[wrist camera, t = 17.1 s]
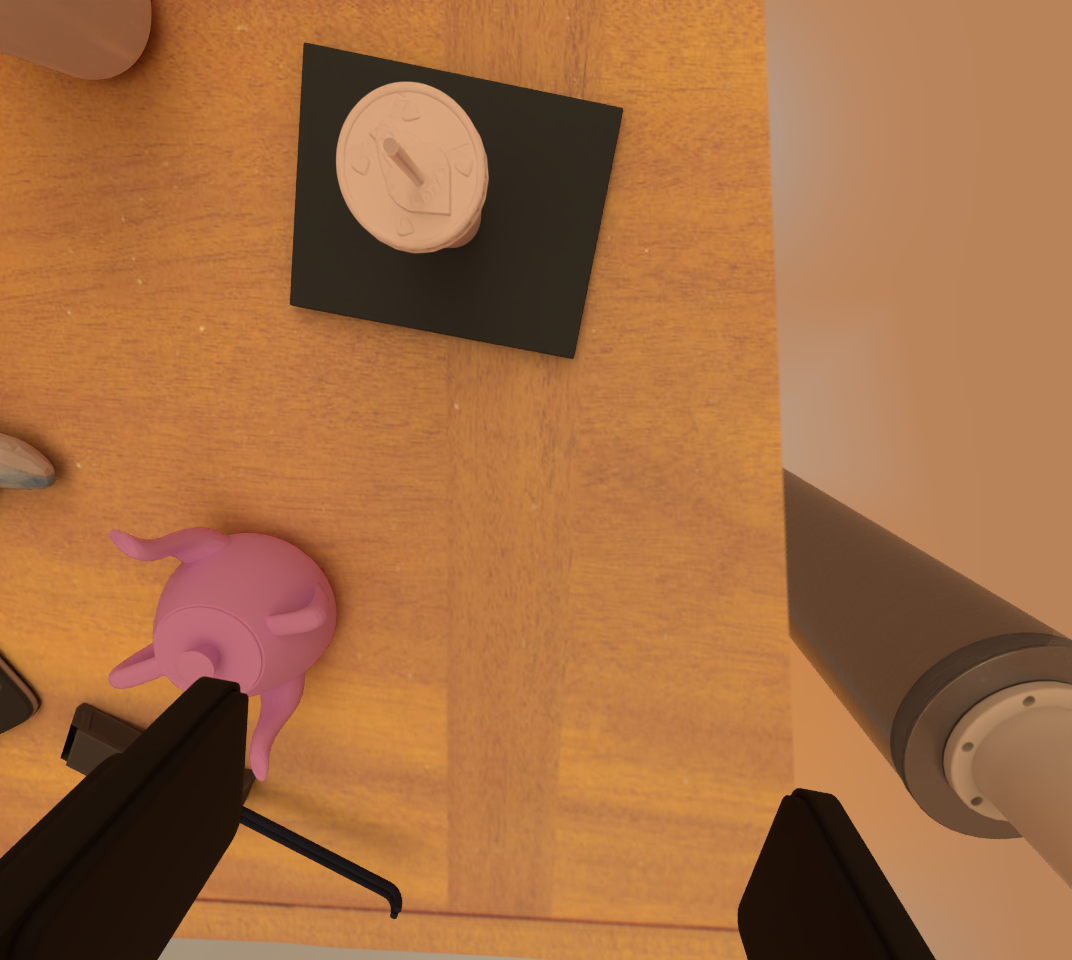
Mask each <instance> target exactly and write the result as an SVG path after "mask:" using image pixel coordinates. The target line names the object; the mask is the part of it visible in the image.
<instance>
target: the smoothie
mask: <svg viewBox="0 0 1072 960" xmlns="http://www.w3.org/2000/svg"><path fill="white" fill-rule="evenodd" d="M336 169H337V177H338V182H339V186H340V189H341V192H342V195H343V197H344V200H345V202H346V204H347V206H348V208H349V209H350V211H351V212H352V214H353V215H354V217H355V218H356V219H357V221H358V222H359V223H360V224H361V225H362V226H363V227H364V228H365V229H366V230H367V231H368V232H369V233H371V234H372V235H373V236H375V237H376V238H377V239H378V240H379V241H381V242H383V243H385V244H387V245H389V246H391V247H393V248H394V249H396V250H401V251H406V252H411V253H427V252H435V251H437V250H440V249H443V248H457V247H460V246H463V245H465V244H467V243H468V242H469V241H471V240H472V239H473V237H474V236H475V235H476V233H477V231H478V229H479V226H480V222H481V209H482V207H483V205H484V202H485V200H486V193H487V187H488V180H489V176H488V163H487V156H486V153H485V149H484V146H483V143H482V140H481V137H480V135H479V133H478V132H477V130H476V129H475V127H474V125H473V123H472V121H471V120H470V118H469V117H468V115H467V114H466V113H465V111H464V110H463V109H462V108H461V107H460V106H459V105H458V104H457V103H456V102H455V101H454V100H453V99H452V98H450V97H449V96H448V95H446V94H445V93H443V92H442V91H440V90H438V89H436V88H434V87H431V86H428V85H426V84H421V83H417V82H395V83H391V84H387V85H384V86H381V87H379V88H377V89H375V90H373V91H372V92H370V93H369V94H367V95H366V96H365V97H363V98H362V99H361V100H360V101H359V102H358V103H357V104H356V105H355V107H354V108H353V109H352V110H351V112H350V114H349V115H348V117H347V118H346V120H345V122H344V124H343V127H342V130H341V132H340V136H339V139H338V144H337V152H336Z"/></svg>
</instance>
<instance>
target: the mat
mask: <svg viewBox="0 0 1072 960" xmlns="http://www.w3.org/2000/svg"><path fill="white" fill-rule="evenodd" d="M395 82H417V83H421V84H426V85H428V86H431V87H434V88H436V89H438V90H440V91H442V92H443V93H445V94H446V95H448V96H449V97H450V98H452V99H453V100H454V101H455V102H456V103H457V104H458V105H459V106H460V107H461V108H462V109H463V110H464V111H465V113H466V114H467V115H468V117H469V118H470V120H471V121H472V123H473V125H474V127H475V129H476V130H477V132H478V133H479V135H480V137H481V140H482V143H483V146H484V149H485V153H486V156H487V163H488V176H489V180H488V187H487V193H486V200H485V202H484V205H483V207H482V209H481V222H480V226H479V229H478V231H477V233H476V235H475V236H474V237H473V239H472V240H471V241H469V242H468V243H467V244H465V245H463V246H460V247H457V248H443V249H440V250H437V251H435V252H427V253H411V252H406V251H401V250H396V249H394V248H393V247H391V246H389V245H387V244H385V243H383V242H381V241H379V240H378V239H377V238H376V237H375V236H373V235H372V234H371V233H369V232H368V231H367V230H366V229H365V228H364V227H363V226H362V225H361V224H360V223H359V222H358V221H357V219H356V218H355V217H354V215H353V214H352V212H351V211H350V209H349V208H348V206H347V204H346V202H345V200H344V197H343V195H342V192H341V189H340V186H339V182H338V177H337V169H336V152H337V144H338V139H339V136H340V132H341V130H342V127H343V124H344V122H345V120H346V118H347V117H348V115H349V114H350V112H351V110H352V109H353V108H354V107H355V105H356V104H357V103H358V102H359V101H360V100H361V99H362V98H363V97H365V96H366V95H367V94H369V93H370V92H372V91H373V90H375V89H377V88H379V87H381V86H384V85H387V84H391V83H395ZM622 113H623V108H620V107H615V106H610V105H606V104H601V103H596V102H591V101H586V100H581V99H576V98H572V97H567V96H562V95H557V94H552V93H547V92H542V91H538V90H533V89H528V88H523V87H518V86H513V85H508V84H504V83H499V82H494V81H489V80H484V79H479V78H474V77H470V76H465V75H460V74H455V73H450V72H445V71H440V70H436V69H431V68H426V67H421V66H416V65H411V64H406V63H402V62H397V61H392V60H387V59H382V58H377V57H372V56H368V55H363V54H358V53H353V52H348V51H343V50H338V49H334V48H329V47H324V46H319V45H314V44H309V43H304V48H303V67H302V86H301V105H300V123H299V142H298V161H297V180H296V199H295V218H294V237H293V256H292V275H291V293H290V305H292V306H297V307H302V308H307V309H313V310H318V311H323V312H329V313H334V314H339V315H344V316H350V317H355V318H360V319H365V320H371V321H376V322H381V323H387V324H392V325H397V326H402V327H408V328H413V329H418V330H423V331H429V332H434V333H439V334H445V335H450V336H455V337H460V338H466V339H471V340H476V341H481V342H487V343H492V344H497V345H503V346H508V347H513V348H518V349H524V350H529V351H534V352H539V353H545V354H550V355H555V356H561V357H566V358H571V359H573V358H574V355H575V350H576V344H577V339H578V334H579V329H580V324H581V319H582V314H583V309H584V304H585V299H586V294H587V289H588V284H589V279H590V274H591V269H592V264H593V259H594V254H595V249H596V244H597V239H598V234H599V229H600V224H601V219H602V214H603V209H604V204H605V199H606V194H607V188H608V183H609V178H610V173H611V168H612V163H613V158H614V153H615V148H616V143H617V138H618V133H619V128H620V123H621V118H622Z"/></svg>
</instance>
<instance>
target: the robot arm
mask: <svg viewBox="0 0 1072 960" xmlns="http://www.w3.org/2000/svg"><path fill="white" fill-rule="evenodd" d="M247 717H248V695H247V694H245V693H241V690H240V685H239V683H237V682H233V681H228V680H222V679H217V678H212V677H207V676H203V677H200V678H199V679H198V680H196V681H195V682H194V683H193V684H192V685H191V686H190V687H189V688H188V689H187V690H186V691H185V692H184V693H183V694H182V695H181V696H180V697H179V698H178V699H177V700H176V701H175V702H174V703H173V704H172V705H171V706H170V707H168V708H167V709H166V710H165V711H164V712H163V713H162V714H161V715H160V716H159V717H158V718H157V719H156V720H155V721H154V722H153V723H152V724H151V725H150V726H149V727H148V728H147V729H146V730H145V731H144V732H143V733H142V734H141V735H140V736H139V737H138V738H137V739H136V740H135V741H134V742H133V743H132V744H131V745H130V746H129V747H128V748H127V749H126V750H125V751H124V752H123V753H116V754H114V755H111V756H109V757H108V758H106V759H105V760H104V761H103V762H101V763H100V764H99V765H98V766H97V767H96V768H95V769H93V770H92V771H91V772H90V773H89V774H88V775H87V776H86V777H85V778H84V779H83V780H82V781H81V782H80V783H79V784H78V785H77V786H76V787H75V788H74V789H73V790H72V791H71V792H69V793H68V794H67V795H66V796H65V797H64V798H63V799H62V800H61V801H60V802H59V803H58V804H57V805H56V806H55V807H54V808H53V809H52V810H51V811H50V812H49V813H48V814H46V815H45V816H44V817H43V818H42V819H41V820H40V821H39V822H38V823H37V824H36V825H35V826H34V827H33V828H32V829H31V830H30V831H29V832H28V833H27V834H26V835H25V836H23V837H22V838H21V839H20V840H19V841H18V842H17V843H16V844H15V845H14V846H13V847H12V848H11V849H10V850H9V851H8V852H7V853H6V854H5V855H4V856H3V857H2V858H0V960H157V959H158V958H159V956H160V955H161V953H162V951H163V950H164V948H165V947H166V945H167V944H168V942H169V940H170V939H171V937H172V936H173V934H174V933H175V931H176V929H177V928H178V926H179V925H180V923H181V921H182V920H183V918H184V917H185V915H186V913H187V912H188V910H189V909H190V907H191V905H192V904H193V902H194V901H195V899H196V897H197V896H198V894H199V893H200V891H201V889H202V888H203V886H204V885H205V883H206V882H207V880H208V878H209V877H210V875H211V874H212V872H213V870H214V869H215V867H216V866H217V864H218V862H219V861H220V859H221V858H222V856H223V854H224V853H225V851H226V850H227V848H228V846H229V845H230V843H231V842H232V840H233V838H234V836H235V834H236V832H237V829H238V826H239V823H240V820H241V814H242V798H243V782H244V766H245V750H246V733H247ZM943 766H944V771H945V776H946V778H947V781H948V783H949V785H950V787H951V788H952V789H953V790H954V792H955V793H956V794H957V795H958V796H959V798H960V799H961V800H962V801H963V802H964V803H965V804H966V805H967V806H968V807H969V808H971V809H973V810H974V811H976V812H978V813H979V814H981V815H984V816H987V817H990V818H992V819H997V820H1003V821H1009V822H1010V823H1011V824H1012V825H1013V827H1014V828H1015V829H1016V830H1017V831H1018V832H1019V833H1020V834H1021V835H1022V836H1023V837H1024V838H1025V839H1026V840H1027V842H1029V844H1030V845H1031V846H1032V847H1033V848H1034V849H1035V850H1036V851H1037V852H1038V853H1039V854H1040V855H1041V856H1042V858H1043V859H1044V860H1045V861H1046V862H1047V863H1048V864H1049V865H1050V866H1051V867H1052V868H1053V869H1054V870H1055V872H1056V873H1057V874H1058V875H1059V876H1060V877H1061V878H1062V879H1063V880H1064V881H1065V882H1066V883H1067V884H1068V885H1069V887H1070V888H1071V889H1072V685H1071V684H1066V683H1061V682H1055V681H1037V682H1031V683H1024V684H1019V685H1016V686H1013V687H1009V688H1006V689H1003V690H1001V691H999V692H997V693H995V694H993V695H991V696H989V697H987V698H986V699H984V700H983V701H981V702H980V703H978V704H976V705H975V706H974V707H973V708H972V709H971V710H970V711H968V712H967V713H966V714H965V715H964V716H963V717H962V719H961V720H960V721H959V722H958V724H957V725H956V726H955V728H954V729H953V731H952V733H951V735H950V737H949V739H948V741H947V745H946V748H945V751H944V761H943ZM738 928H739V932H740V936H741V939H742V942H743V946H744V949H745V952H746V955H747V959H748V960H936V959H935V957H934V956H933V954H932V953H931V951H930V950H929V948H928V946H927V944H926V943H925V941H924V940H923V938H922V936H921V935H920V933H919V931H918V930H917V928H916V926H915V925H914V923H913V921H912V920H911V918H910V916H909V915H908V913H907V912H906V910H905V908H904V907H903V905H902V903H901V902H900V900H899V899H898V897H897V895H896V894H895V892H894V890H893V889H892V887H891V885H890V884H889V882H888V880H887V879H886V877H885V875H884V874H883V872H882V871H881V869H880V867H879V866H878V864H877V862H876V861H875V859H874V857H873V856H872V854H871V852H870V851H869V849H868V848H867V846H866V844H865V843H864V841H863V839H862V838H861V836H860V834H859V833H858V831H857V830H856V828H855V826H854V825H853V823H852V821H851V820H850V818H849V816H848V815H847V813H846V811H845V810H844V808H843V807H842V805H841V803H840V802H839V801H838V799H837V798H836V797H835V796H833V795H832V794H828V793H822V792H817V791H812V790H807V789H802V788H797V789H795V790H794V791H793V792H792V794H791V796H789V795H786V796H785V797H784V798H783V800H782V801H781V804H780V806H779V809H778V811H777V814H776V816H775V818H774V821H773V823H772V826H771V828H770V831H769V833H768V836H767V838H766V841H765V843H764V845H763V848H762V850H761V853H760V855H759V858H758V860H757V863H756V865H755V867H754V870H753V872H752V875H751V877H750V880H749V882H748V885H747V887H746V890H745V892H744V894H743V897H742V899H741V902H740V904H739V908H738Z"/></svg>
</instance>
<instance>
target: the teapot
mask: <svg viewBox="0 0 1072 960" xmlns="http://www.w3.org/2000/svg"><path fill="white" fill-rule="evenodd" d="M109 536H110V538H111V540H112V542H113V543H114V544H115V545H116V546H117V547H118V548H119V549H120V550H121V551H122V552H123V553H125V554H126V555H128V556H129V557H131V558H134V559H136V560H141V561H154V560H158V559H161V558H164V557H167V556H174V557H176V558H178V559H179V560H181V561H182V563H181V564H180V565H179V567H178V568H177V569H176V570H175V572H174V573H173V574H172V576H171V577H170V579H169V580H168V582H167V584H166V586H165V588H164V590H163V592H162V594H161V597H160V599H159V603H158V606H157V610H156V615H155V621H154V629H153V643H152V644H150V645H148V646H147V647H145V648H143V649H142V650H140V651H138V652H137V653H135V654H134V655H132V656H130V657H129V658H127V659H126V660H125V661H123V662H122V663H120V664H119V665H118V666H116V667H115V668H114V669H113V670H112V671H111V673H110V674H109V683H110V685H111V686H112V687H114V688H118V689H125V688H130V687H134V686H137V685H140V684H143V683H146V682H149V681H152V680H154V679H157V678H160V677H162V676H165V675H166V676H167V678H168V679H169V680H170V681H171V682H172V683H173V684H175V685H176V686H177V687H178V688H180V689H181V690H183V691H186V690H187V689H188V688H189V687H190V686H191V685H192V684H193V683H194V682H195V681H196V680H198V679H199V678H200V677H203V676H207V677H212V678H217V679H222V680H228V681H233V682H237V683H239V685H240V690H241V693H245V694H247V695H248V697H251V696H255V695H259V694H260V695H261V712H260V717H259V720H258V723H257V726H256V728H255V731H254V734H253V737H252V741H251V746H250V763H251V767H252V771H253V773H254V775H255V777H256V778H257V779H258V780H260V781H264V780H265V779H266V778H267V774H268V767H269V754H270V750H271V746H272V744H273V742H274V740H275V737H276V736H277V734H278V733H279V731H280V730H281V728H282V727H283V726H284V724H285V723H286V722H287V720H288V719H289V718H290V716H291V715H292V714H293V712H294V711H295V709H296V708H297V706H298V704H299V702H300V700H301V697H302V694H303V689H304V681H305V671H306V670H307V669H309V668H310V667H311V666H312V665H313V664H314V663H315V662H316V661H317V660H318V659H319V658H320V657H321V655H322V654H323V653H324V651H325V650H326V649H327V647H328V646H329V644H330V642H331V640H332V638H333V635H334V631H335V627H336V619H337V608H336V601H335V597H334V594H333V590H332V588H331V586H330V584H329V581H328V580H327V578H326V576H325V575H324V573H323V572H322V570H321V569H320V568H319V566H318V565H317V564H316V563H315V562H314V561H313V560H312V559H311V558H310V557H309V556H308V555H307V554H305V553H304V552H303V551H302V550H300V549H299V548H297V547H295V546H294V545H292V544H290V543H288V542H286V541H284V540H282V539H279V538H276V537H273V536H269V535H265V534H258V533H237V534H230V535H224V534H222V533H220V532H218V531H216V530H213V529H210V528H203V527H194V528H188V529H183V530H180V531H177V532H174V533H172V534H169V535H166V536H164V537H161V538H157V539H152V540H145V539H139V538H136V537H134V536H131V535H129V534H127V533H125V532H122V531H120V530H116V529H113V530H110V531H109Z"/></svg>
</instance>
